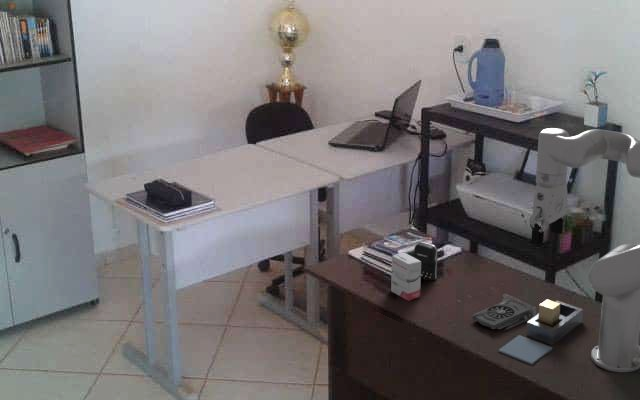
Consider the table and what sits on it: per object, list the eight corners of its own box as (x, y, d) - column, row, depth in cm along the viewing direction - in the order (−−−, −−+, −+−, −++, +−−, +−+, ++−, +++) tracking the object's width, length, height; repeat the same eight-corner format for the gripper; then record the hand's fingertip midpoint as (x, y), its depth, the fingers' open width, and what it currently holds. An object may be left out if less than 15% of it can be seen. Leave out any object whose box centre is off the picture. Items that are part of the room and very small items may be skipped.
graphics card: (505, 291, 253) (537, 305, 243) (505, 302, 254) (536, 317, 245) (463, 309, 244) (494, 324, 235) (463, 321, 245) (494, 337, 236)
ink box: (421, 296, 258) (422, 260, 254) (408, 301, 255) (408, 265, 251) (403, 286, 265) (403, 250, 260) (390, 291, 262) (390, 255, 258)
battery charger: (412, 277, 270) (412, 244, 266) (418, 273, 273) (419, 239, 269) (431, 283, 266) (431, 249, 262) (437, 278, 269) (438, 245, 264)
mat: (552, 349, 228) (552, 347, 228) (531, 364, 221) (532, 363, 221) (518, 336, 234) (519, 335, 234) (498, 351, 228) (498, 349, 228)
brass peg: (558, 333, 236) (560, 303, 232) (550, 338, 233) (552, 309, 230) (545, 328, 238) (547, 299, 235) (537, 333, 236) (539, 304, 232)
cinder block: (582, 322, 241) (583, 309, 239) (552, 344, 230) (553, 331, 228) (556, 313, 246) (557, 300, 244) (526, 334, 235) (526, 322, 234)
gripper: (546, 189, 212) (542, 253, 218) (581, 171, 224) (576, 231, 230) (520, 183, 217) (516, 245, 223) (555, 165, 229) (550, 224, 235)
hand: (546, 238), depth 227 cm, fingers open, 9 cm apart
